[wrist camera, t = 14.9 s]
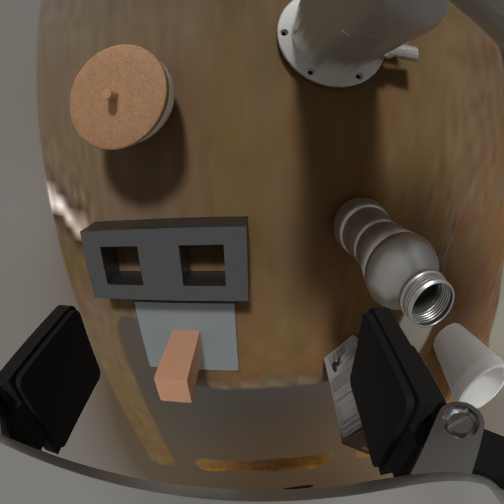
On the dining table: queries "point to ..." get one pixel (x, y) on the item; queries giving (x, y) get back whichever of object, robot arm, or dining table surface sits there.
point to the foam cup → (468, 365)
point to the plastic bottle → (394, 262)
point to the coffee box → (345, 394)
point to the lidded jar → (121, 97)
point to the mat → (191, 319)
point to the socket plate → (168, 259)
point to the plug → (179, 366)
